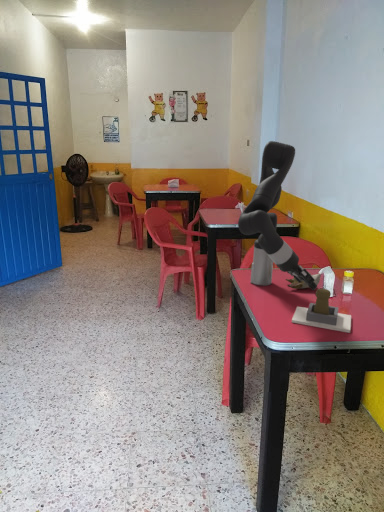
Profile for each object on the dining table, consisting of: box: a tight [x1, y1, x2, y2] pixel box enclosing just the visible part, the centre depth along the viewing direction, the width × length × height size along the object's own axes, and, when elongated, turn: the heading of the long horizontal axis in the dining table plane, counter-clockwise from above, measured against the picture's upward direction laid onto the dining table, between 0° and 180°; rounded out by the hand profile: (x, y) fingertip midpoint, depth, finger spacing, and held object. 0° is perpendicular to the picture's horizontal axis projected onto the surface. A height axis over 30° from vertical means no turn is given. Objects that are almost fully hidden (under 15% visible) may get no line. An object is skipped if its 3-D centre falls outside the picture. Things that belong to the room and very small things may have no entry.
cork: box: [313, 288, 332, 315], centre depth 145 cm, size 6×6×11 cm
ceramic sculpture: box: [285, 270, 322, 290], centre depth 180 cm, size 11×9×15 cm
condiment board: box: [291, 302, 352, 334], centre depth 147 cm, size 20×14×4 cm
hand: (307, 284), depth 141 cm, fingers open, 8 cm apart
